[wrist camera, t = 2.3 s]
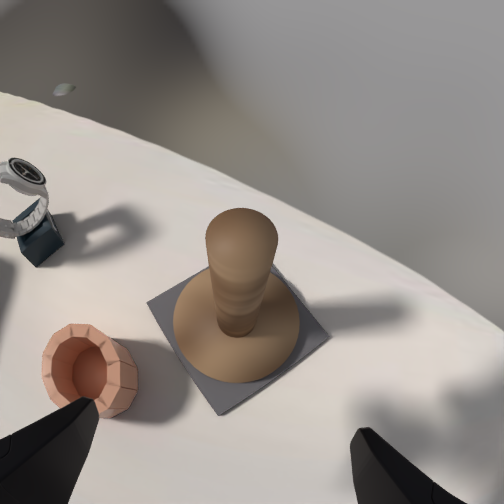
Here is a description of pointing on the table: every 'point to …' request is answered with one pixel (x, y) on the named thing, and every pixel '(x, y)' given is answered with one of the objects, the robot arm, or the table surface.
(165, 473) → the table surface
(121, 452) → the table surface
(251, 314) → the lid
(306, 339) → the mat
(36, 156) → the table surface
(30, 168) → the watch
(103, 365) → the bowl
